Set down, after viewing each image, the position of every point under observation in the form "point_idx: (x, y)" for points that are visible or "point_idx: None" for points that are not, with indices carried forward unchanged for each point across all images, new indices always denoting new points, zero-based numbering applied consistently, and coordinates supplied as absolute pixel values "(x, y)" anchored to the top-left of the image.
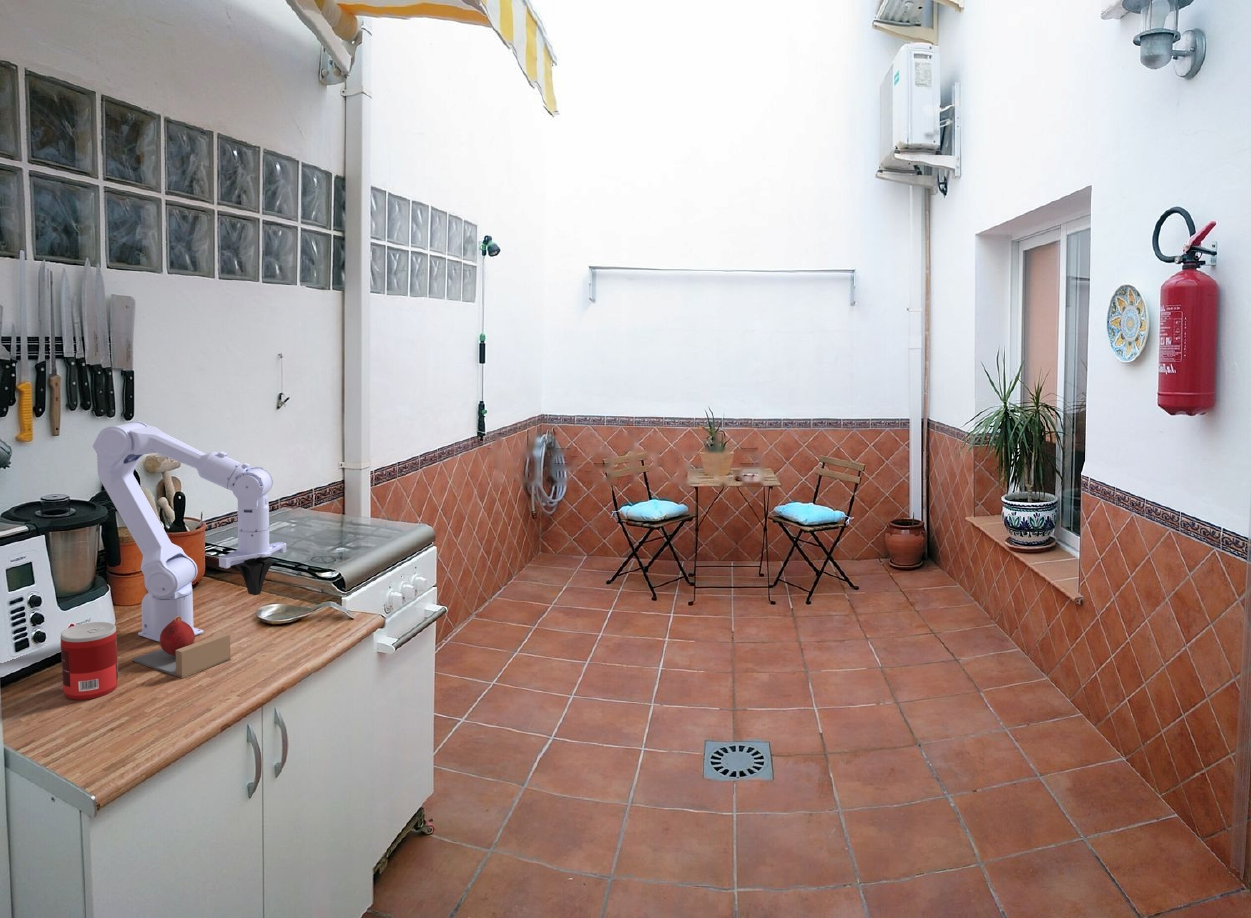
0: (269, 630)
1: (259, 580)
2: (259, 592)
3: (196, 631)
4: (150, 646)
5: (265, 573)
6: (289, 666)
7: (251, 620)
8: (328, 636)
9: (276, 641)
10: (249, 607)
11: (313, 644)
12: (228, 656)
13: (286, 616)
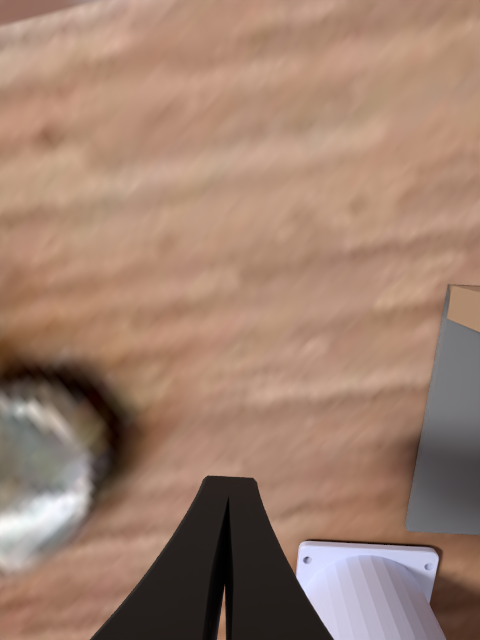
0: (156, 385)
1: (213, 572)
2: (217, 482)
3: (319, 558)
4: (459, 579)
5: (135, 623)
6: (401, 8)
7: (126, 505)
8: (58, 129)
9: (222, 278)
10: (47, 594)
11: (162, 116)
12: (465, 286)
13: (20, 438)
